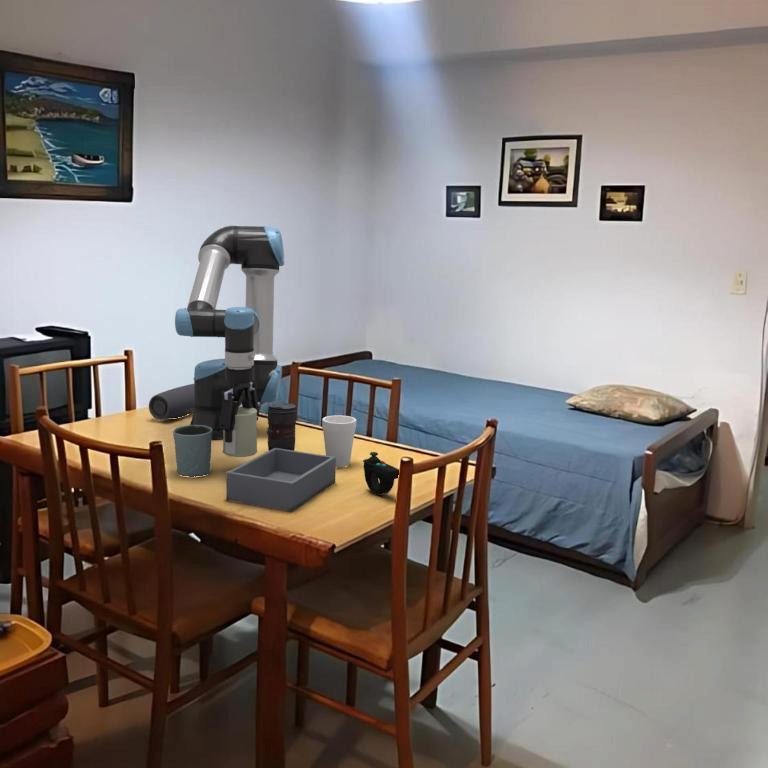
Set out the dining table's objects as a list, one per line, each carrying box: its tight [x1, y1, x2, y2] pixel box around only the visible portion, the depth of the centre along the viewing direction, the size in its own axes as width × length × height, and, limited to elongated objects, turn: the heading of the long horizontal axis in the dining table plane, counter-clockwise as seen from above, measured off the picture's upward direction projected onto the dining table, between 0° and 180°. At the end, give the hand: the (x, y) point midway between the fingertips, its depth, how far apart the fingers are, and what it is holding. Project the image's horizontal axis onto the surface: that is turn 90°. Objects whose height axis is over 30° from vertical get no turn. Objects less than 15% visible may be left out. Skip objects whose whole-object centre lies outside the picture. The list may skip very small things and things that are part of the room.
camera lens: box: [266, 402, 297, 451], centre depth 235 cm, size 8×8×15 cm
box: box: [225, 448, 337, 513], centre depth 206 cm, size 24×18×7 cm
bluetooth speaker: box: [148, 383, 195, 420], centre depth 277 cm, size 23×9×10 cm, turn 157°
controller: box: [362, 451, 400, 496], centre depth 206 cm, size 4×12×10 cm, turn 37°
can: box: [222, 405, 258, 458], centre depth 220 cm, size 9×9×12 cm
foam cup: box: [321, 414, 357, 468], centre depth 229 cm, size 10×9×13 cm
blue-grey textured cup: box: [172, 424, 213, 477], centre depth 217 cm, size 10×10×12 cm
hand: (240, 448), depth 221 cm, fingers closed on can, 9 cm apart
